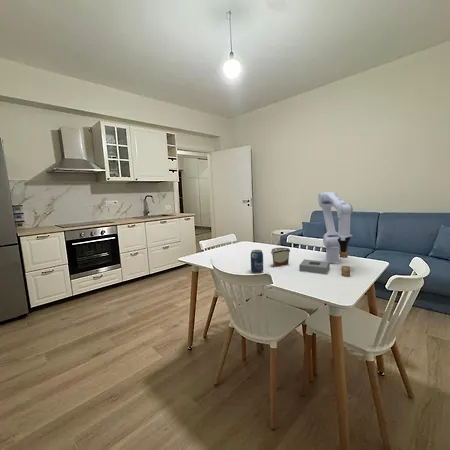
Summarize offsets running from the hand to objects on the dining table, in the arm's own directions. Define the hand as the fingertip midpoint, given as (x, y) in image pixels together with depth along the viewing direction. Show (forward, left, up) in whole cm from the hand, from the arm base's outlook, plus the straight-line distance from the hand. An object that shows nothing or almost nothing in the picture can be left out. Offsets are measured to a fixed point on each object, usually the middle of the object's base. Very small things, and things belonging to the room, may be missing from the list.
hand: (343, 251), depth 134 cm
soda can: (+22, -42, -11) cm, 49 cm away
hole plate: (+6, -14, -10) cm, 18 cm away
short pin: (+10, +2, -10) cm, 14 cm away
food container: (+5, -35, -11) cm, 37 cm away
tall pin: (0, 0, -3) cm, 3 cm away
